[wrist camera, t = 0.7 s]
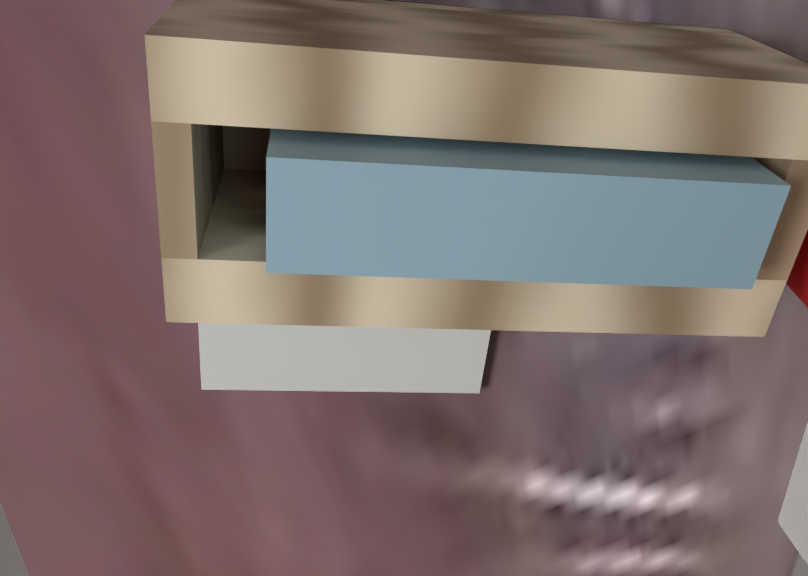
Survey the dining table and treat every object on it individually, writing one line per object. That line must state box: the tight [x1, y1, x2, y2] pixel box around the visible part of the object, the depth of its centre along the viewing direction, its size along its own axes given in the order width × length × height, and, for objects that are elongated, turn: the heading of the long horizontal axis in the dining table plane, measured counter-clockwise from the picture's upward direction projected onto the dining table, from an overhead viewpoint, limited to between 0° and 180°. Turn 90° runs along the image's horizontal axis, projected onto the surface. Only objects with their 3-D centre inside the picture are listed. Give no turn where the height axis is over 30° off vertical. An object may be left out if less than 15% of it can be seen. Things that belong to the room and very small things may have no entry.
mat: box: [198, 323, 491, 393], centre depth 39 cm, size 8×15×1 cm, turn 85°
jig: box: [145, 0, 808, 337], centre depth 30 cm, size 23×10×10 cm, turn 85°
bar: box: [266, 128, 791, 289], centre depth 26 cm, size 17×4×4 cm, turn 85°
